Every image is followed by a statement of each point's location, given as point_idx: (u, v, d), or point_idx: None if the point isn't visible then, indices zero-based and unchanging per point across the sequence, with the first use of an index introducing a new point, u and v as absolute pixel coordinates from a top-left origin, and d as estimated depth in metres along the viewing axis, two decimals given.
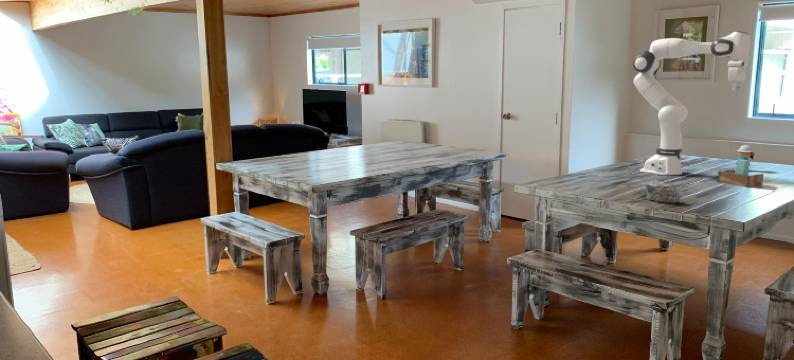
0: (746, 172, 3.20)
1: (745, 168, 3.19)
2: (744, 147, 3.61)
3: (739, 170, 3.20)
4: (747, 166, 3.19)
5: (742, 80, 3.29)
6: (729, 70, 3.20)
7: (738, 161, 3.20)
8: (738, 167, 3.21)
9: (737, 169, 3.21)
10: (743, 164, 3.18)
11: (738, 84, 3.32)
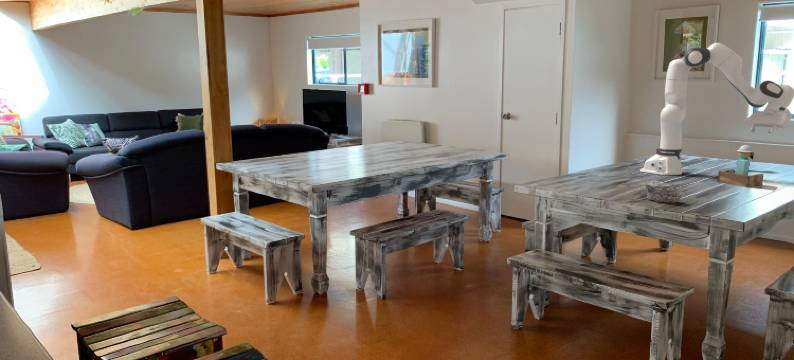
0: (746, 172, 3.20)
1: (745, 168, 3.19)
2: (744, 147, 3.61)
3: (739, 170, 3.20)
4: (747, 166, 3.19)
5: (759, 126, 3.28)
6: (787, 115, 3.16)
7: (738, 161, 3.20)
8: (738, 167, 3.21)
9: (737, 169, 3.21)
10: (743, 164, 3.18)
11: (753, 127, 3.28)
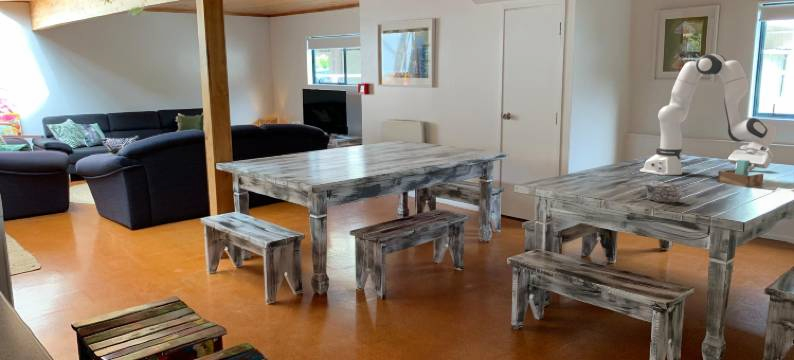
0: (746, 172, 3.20)
1: (745, 168, 3.19)
2: (744, 147, 3.61)
3: (739, 170, 3.20)
4: (747, 166, 3.19)
5: None
6: (768, 156, 3.14)
7: (738, 161, 3.20)
8: (738, 167, 3.21)
9: (737, 169, 3.21)
10: (743, 164, 3.18)
11: None
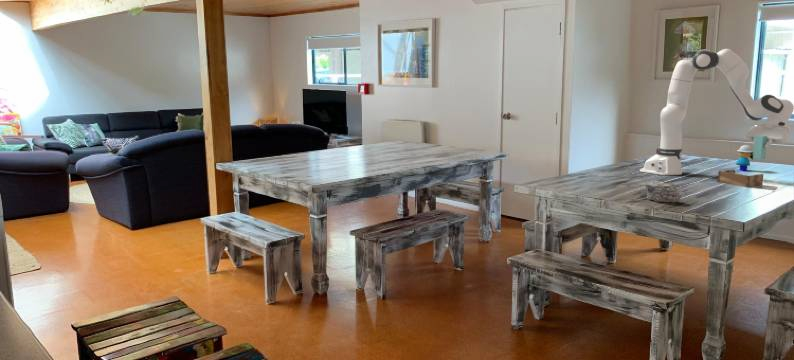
0: None
1: (763, 143, 3.22)
2: (744, 147, 3.61)
3: (757, 146, 3.23)
4: (765, 141, 3.22)
5: None
6: (786, 131, 3.17)
7: (756, 137, 3.23)
8: (756, 143, 3.24)
9: (755, 145, 3.24)
10: (761, 139, 3.21)
11: None
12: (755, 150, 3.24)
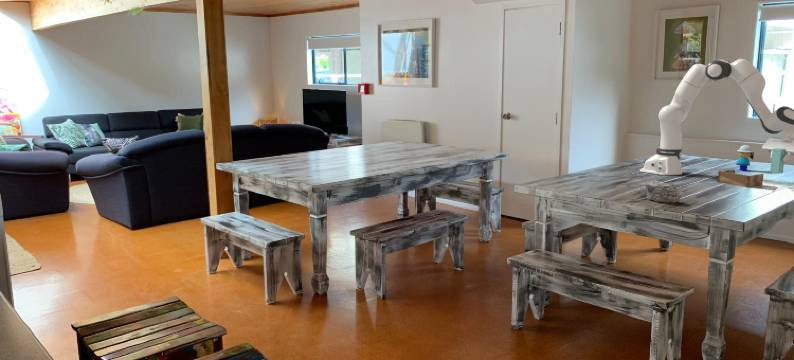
0: (782, 161, 3.10)
1: (781, 157, 3.09)
2: (744, 147, 3.61)
3: (775, 159, 3.11)
4: (783, 154, 3.10)
5: None
6: None
7: (774, 149, 3.11)
8: (774, 156, 3.11)
9: (772, 158, 3.12)
10: (779, 152, 3.09)
11: None
12: (773, 163, 3.12)
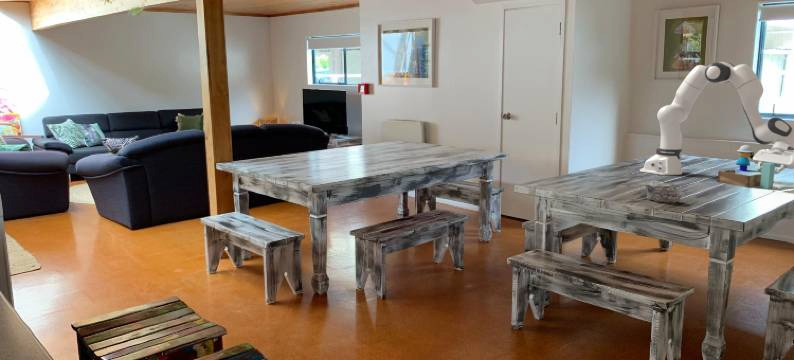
0: (772, 176, 3.08)
1: (771, 171, 3.07)
2: (744, 147, 3.61)
3: (764, 174, 3.09)
4: (773, 169, 3.08)
5: None
6: None
7: (763, 164, 3.09)
8: (763, 170, 3.09)
9: (762, 172, 3.10)
10: (768, 167, 3.07)
11: (760, 165, 3.14)
12: (762, 178, 3.10)
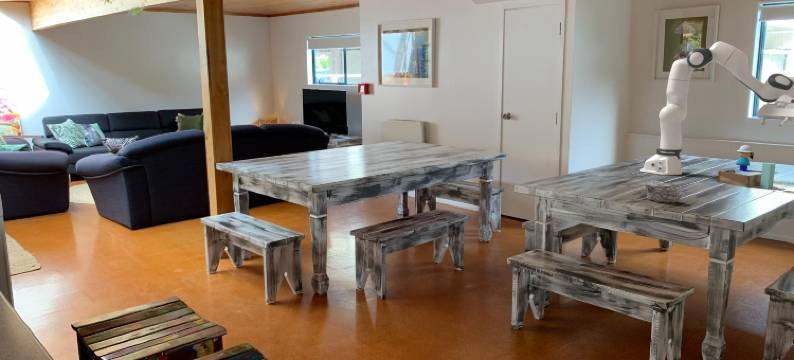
0: (772, 176, 3.08)
1: (771, 171, 3.07)
2: (744, 147, 3.61)
3: (764, 174, 3.09)
4: (773, 169, 3.08)
5: None
6: None
7: (763, 164, 3.09)
8: (763, 170, 3.09)
9: (762, 172, 3.10)
10: (769, 167, 3.07)
11: (763, 119, 3.19)
12: (762, 178, 3.10)
